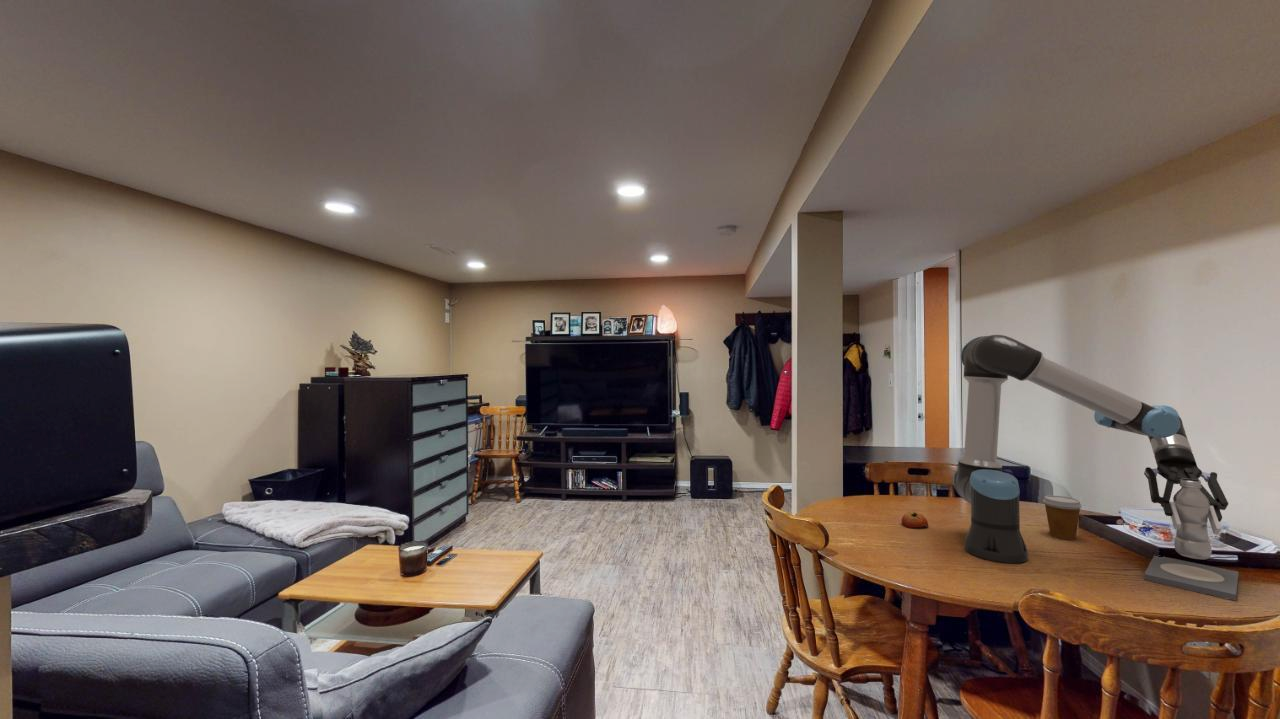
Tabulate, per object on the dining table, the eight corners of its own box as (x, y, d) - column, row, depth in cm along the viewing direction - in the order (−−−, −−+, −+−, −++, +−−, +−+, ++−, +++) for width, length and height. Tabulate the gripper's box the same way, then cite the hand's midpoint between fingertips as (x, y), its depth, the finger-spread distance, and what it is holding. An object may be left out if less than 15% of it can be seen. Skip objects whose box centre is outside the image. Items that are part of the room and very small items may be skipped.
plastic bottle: (1202, 554, 129) (1199, 478, 129) (1218, 564, 122) (1216, 483, 123) (1168, 551, 131) (1166, 476, 132) (1183, 560, 125) (1180, 481, 125)
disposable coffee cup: (1091, 541, 154) (1090, 502, 154) (1060, 541, 154) (1059, 503, 154) (1065, 531, 163) (1064, 495, 164) (1036, 531, 164) (1035, 495, 164)
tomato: (895, 521, 171) (904, 503, 173) (900, 530, 175) (909, 513, 177) (918, 530, 165) (928, 512, 167) (924, 540, 168) (933, 522, 170)
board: (1235, 601, 115) (1235, 593, 115) (1144, 579, 127) (1144, 573, 127) (1238, 577, 127) (1238, 571, 127) (1154, 560, 139) (1154, 554, 139)
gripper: (1219, 465, 135) (1250, 543, 121) (1123, 458, 145) (1141, 530, 131) (1227, 448, 130) (1260, 528, 116) (1128, 443, 141) (1147, 515, 127)
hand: (1197, 529), depth 124 cm, fingers closed on plastic bottle, 6 cm apart
